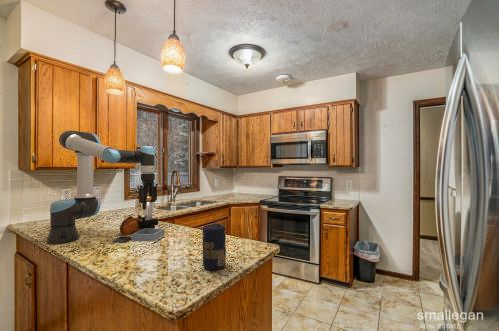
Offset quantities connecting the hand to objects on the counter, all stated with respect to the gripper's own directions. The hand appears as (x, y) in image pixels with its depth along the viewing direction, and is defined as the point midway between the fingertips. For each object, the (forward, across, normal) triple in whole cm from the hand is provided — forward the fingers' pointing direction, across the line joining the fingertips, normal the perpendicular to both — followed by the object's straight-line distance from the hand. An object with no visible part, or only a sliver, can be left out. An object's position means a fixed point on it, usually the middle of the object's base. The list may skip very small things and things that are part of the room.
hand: (148, 213), depth 142 cm
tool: (+15, +10, +16) cm, 24 cm away
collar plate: (+15, -9, +11) cm, 20 cm away
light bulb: (+3, 0, 0) cm, 3 cm away
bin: (+15, 0, 0) cm, 15 cm away
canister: (+16, -21, -55) cm, 61 cm away
